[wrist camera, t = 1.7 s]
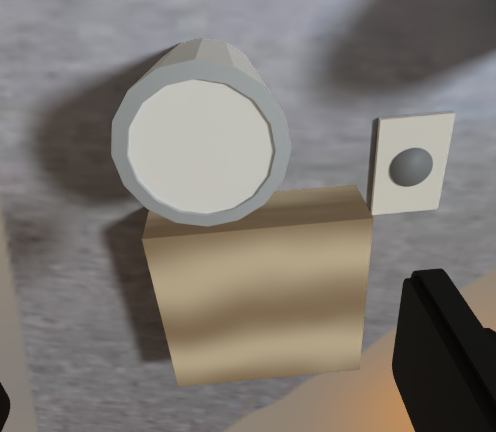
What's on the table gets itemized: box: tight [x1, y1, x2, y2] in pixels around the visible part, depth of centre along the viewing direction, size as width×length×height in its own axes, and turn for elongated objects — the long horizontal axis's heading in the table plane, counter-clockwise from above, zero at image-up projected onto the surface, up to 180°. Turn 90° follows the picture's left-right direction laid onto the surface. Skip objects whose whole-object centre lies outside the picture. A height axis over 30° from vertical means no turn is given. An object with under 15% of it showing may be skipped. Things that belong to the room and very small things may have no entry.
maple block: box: [142, 185, 373, 386], centre depth 28 cm, size 12×12×4 cm
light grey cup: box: [111, 38, 292, 227], centre depth 20 cm, size 7×7×7 cm
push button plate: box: [370, 111, 455, 215], centre depth 25 cm, size 6×4×1 cm, turn 4°
